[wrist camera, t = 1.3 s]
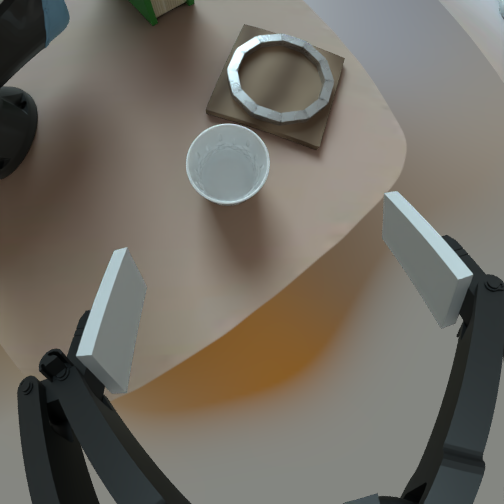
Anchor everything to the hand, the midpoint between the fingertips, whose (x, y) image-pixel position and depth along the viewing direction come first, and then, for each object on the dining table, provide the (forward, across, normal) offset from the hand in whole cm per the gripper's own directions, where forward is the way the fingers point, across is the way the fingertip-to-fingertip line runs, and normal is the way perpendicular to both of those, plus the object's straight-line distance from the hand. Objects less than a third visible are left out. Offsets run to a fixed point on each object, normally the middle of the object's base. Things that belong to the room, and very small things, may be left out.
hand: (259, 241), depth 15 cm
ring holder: (+31, +7, +4) cm, 32 cm away
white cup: (+24, -2, -6) cm, 25 cm away
